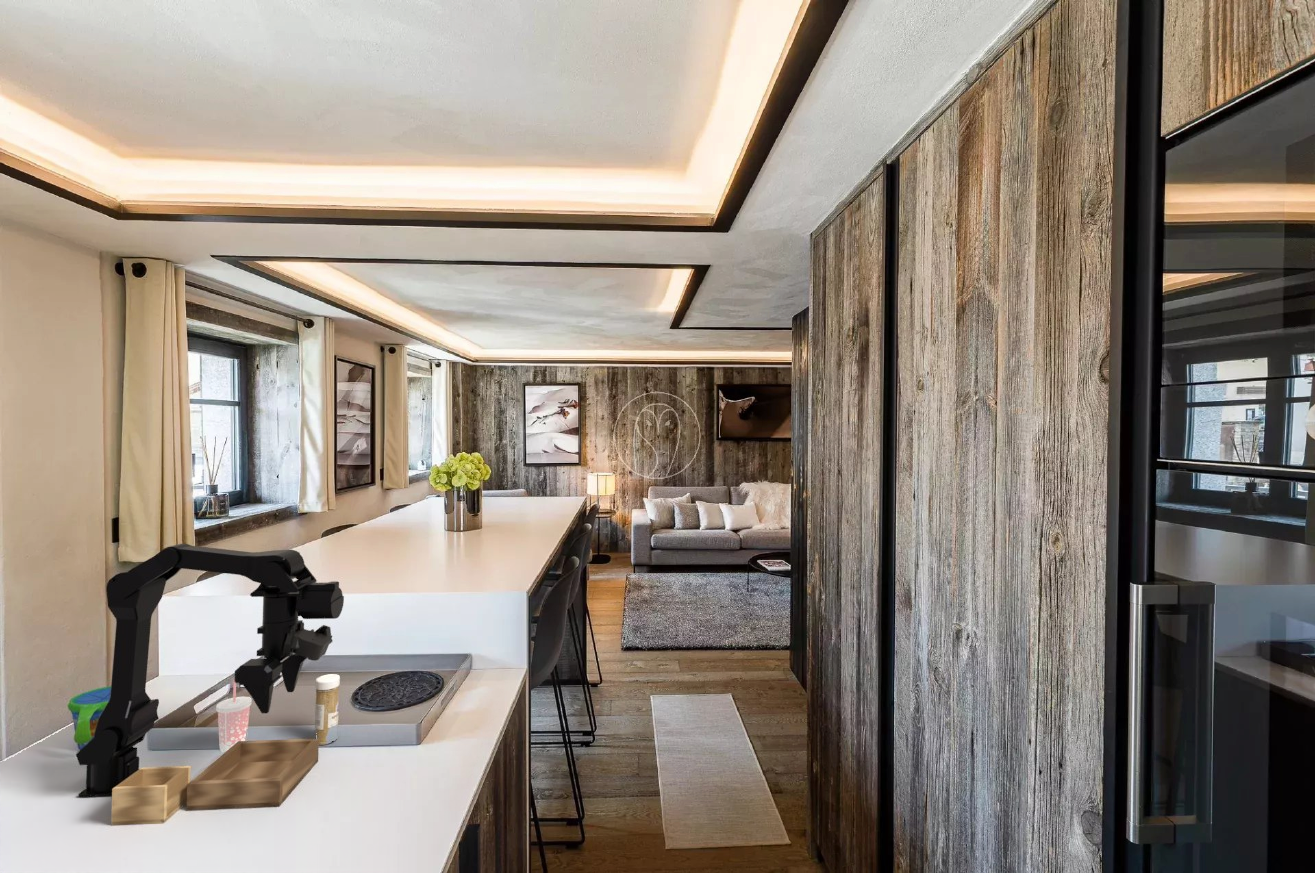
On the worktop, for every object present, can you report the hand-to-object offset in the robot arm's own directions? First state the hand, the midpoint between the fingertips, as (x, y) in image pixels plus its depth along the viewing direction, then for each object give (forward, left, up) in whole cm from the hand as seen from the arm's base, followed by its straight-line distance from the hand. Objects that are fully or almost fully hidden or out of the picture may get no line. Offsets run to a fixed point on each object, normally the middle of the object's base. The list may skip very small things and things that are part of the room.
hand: (278, 701), depth 113 cm
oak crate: (-16, -9, -15) cm, 23 cm away
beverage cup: (-15, +14, -15) cm, 26 cm away
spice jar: (+3, +15, -15) cm, 21 cm away
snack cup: (-42, +17, -15) cm, 48 cm away
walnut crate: (-3, -1, -15) cm, 15 cm away
